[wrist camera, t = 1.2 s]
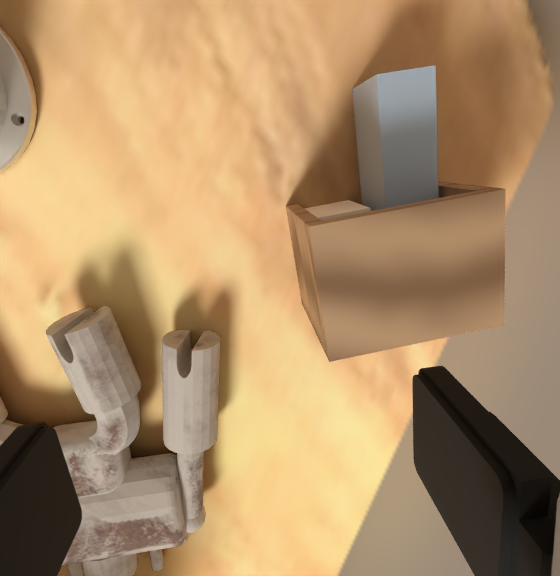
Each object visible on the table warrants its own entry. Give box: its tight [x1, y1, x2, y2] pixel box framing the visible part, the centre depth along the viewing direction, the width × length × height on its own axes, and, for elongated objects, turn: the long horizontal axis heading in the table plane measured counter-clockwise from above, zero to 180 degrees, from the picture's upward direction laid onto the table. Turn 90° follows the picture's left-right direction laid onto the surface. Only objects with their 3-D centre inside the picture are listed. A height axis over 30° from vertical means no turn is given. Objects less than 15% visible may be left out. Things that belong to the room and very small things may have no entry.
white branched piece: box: [0, 306, 220, 576], centre depth 37 cm, size 31×7×30 cm
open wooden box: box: [286, 182, 505, 362], centre depth 30 cm, size 9×12×11 cm
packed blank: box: [304, 200, 371, 220], centre depth 33 cm, size 7×4×6 cm, turn 10°
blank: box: [352, 65, 439, 211], centre depth 31 cm, size 13×4×6 cm, turn 9°
